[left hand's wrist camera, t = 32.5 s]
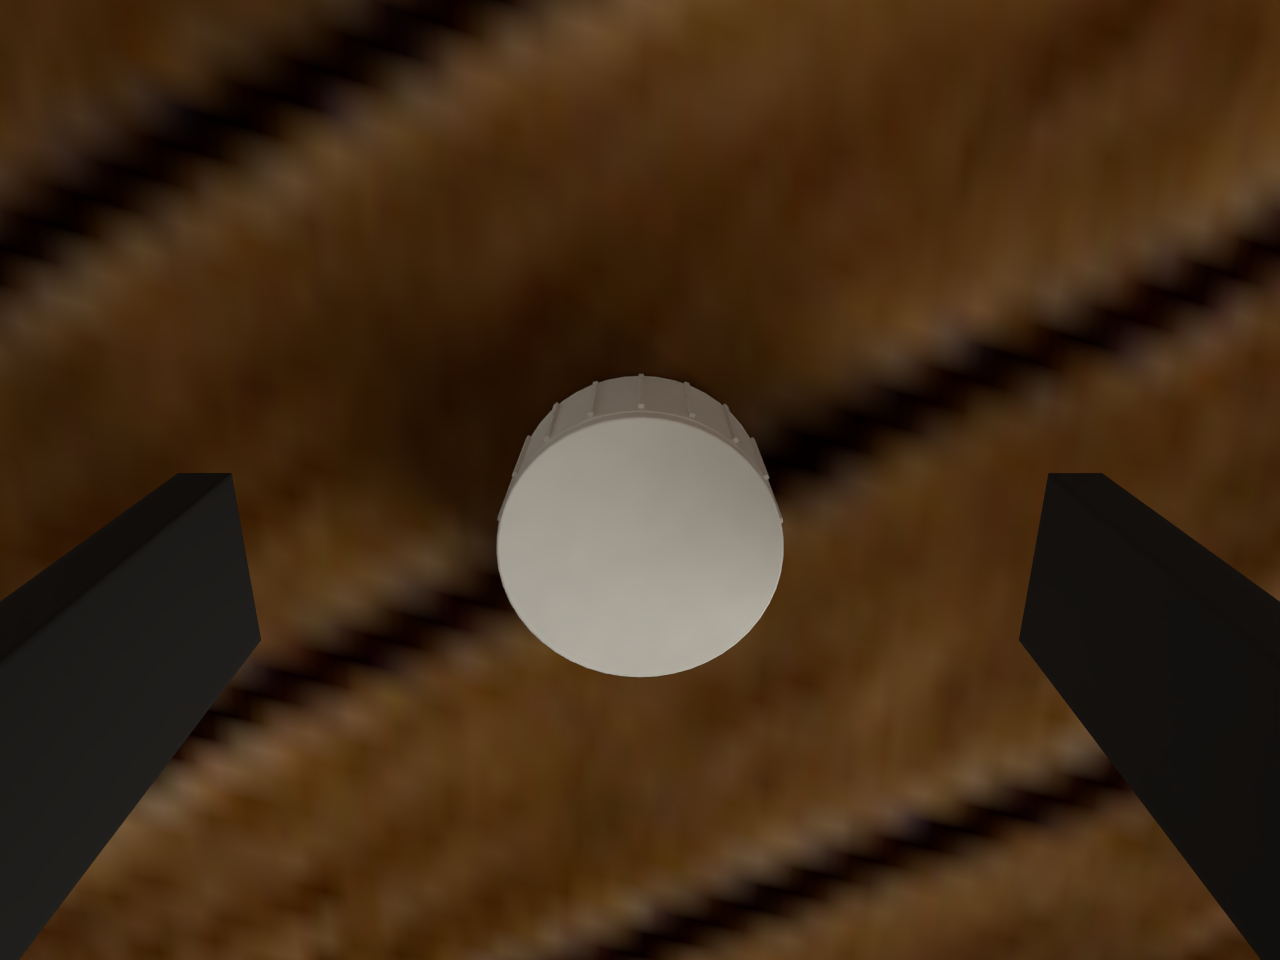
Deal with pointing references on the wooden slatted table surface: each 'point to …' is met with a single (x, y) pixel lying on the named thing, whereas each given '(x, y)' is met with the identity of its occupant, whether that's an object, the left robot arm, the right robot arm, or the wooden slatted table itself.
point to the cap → (639, 529)
